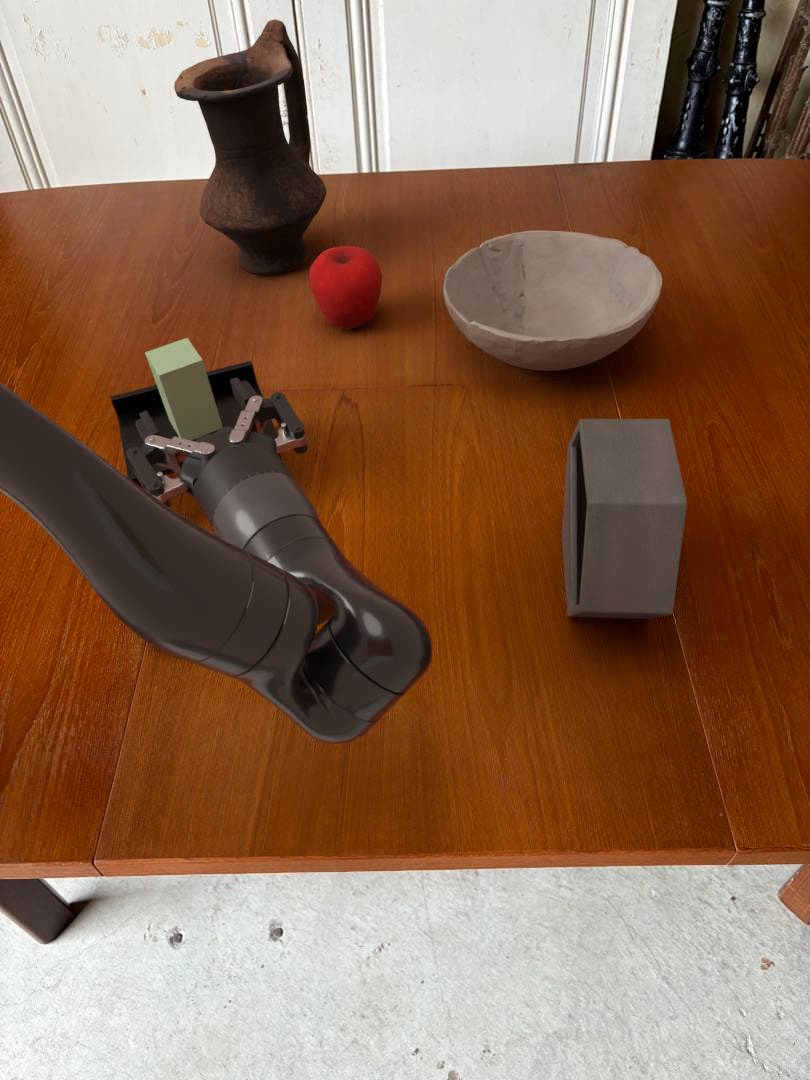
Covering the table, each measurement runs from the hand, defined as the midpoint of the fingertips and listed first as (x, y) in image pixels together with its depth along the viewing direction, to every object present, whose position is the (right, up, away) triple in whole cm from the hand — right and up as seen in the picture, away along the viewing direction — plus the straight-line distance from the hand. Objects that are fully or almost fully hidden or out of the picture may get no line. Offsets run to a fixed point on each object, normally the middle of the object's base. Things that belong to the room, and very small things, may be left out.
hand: (190, 402), depth 73 cm
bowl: (+38, +13, +34) cm, 53 cm away
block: (-4, 0, +16) cm, 16 cm away
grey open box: (+39, -17, +8) cm, 43 cm away
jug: (0, +32, +54) cm, 62 cm away
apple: (+12, +18, +41) cm, 46 cm away
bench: (-3, -5, +22) cm, 22 cm away
